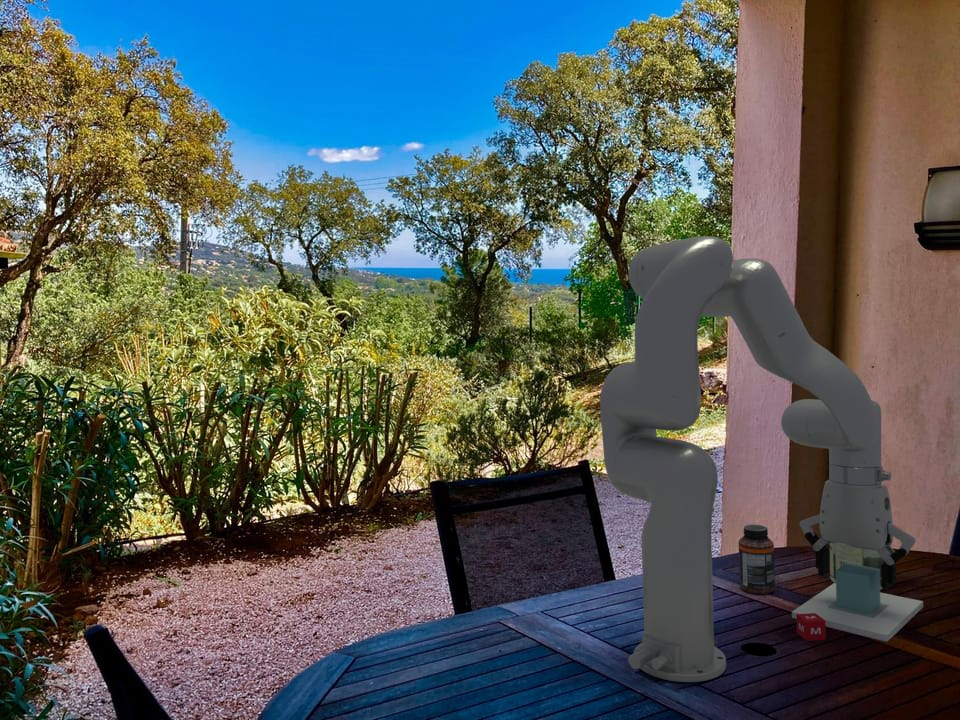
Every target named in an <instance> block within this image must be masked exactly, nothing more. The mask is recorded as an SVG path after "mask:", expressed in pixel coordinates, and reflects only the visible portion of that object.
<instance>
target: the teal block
mask: <svg viewBox="0 0 960 720" xmlns="http://www.w3.org/2000/svg"><path fill="white" fill-rule="evenodd" d="M880 593H881V590H880V569H877V568H872V567H867V566H861V565H856V564H851V563H846V564H845V565H843V566H842V567H840V568H839V569H837V570H836V603H837V607H840V608H844V609H849V610H853V611H857V612H862V613H866V614H871V613H872V612H873V611H874V610H875V609H877V608H878V607H879V606H880Z"/></svg>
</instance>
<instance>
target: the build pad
mask: <svg viewBox="0 0 960 720" xmlns="http://www.w3.org/2000/svg"><path fill="white" fill-rule="evenodd" d="M923 608H924V601H923V600H919V599H914V598H910V597H903V596H898V595H893V594H889V593H885V592H884V593H883V592H880V606H879V607H878V608H877V609H875V610H874V611H873V612H872V613H871V614H866V613H862V612H857V611H853V610H849V609H844V608H840V607H837V603H836V583H835V582H833V583H832V584H831V585H829V586H828V587H826V588H825V589H823V590H822V591H820V592H819V593H817V594H816V595H814V596H813V597H812V598H810V599H809V600H807V601H805V602H804V603H803V604H801V605H800V606H798V607H797V608H795V609H794V610H792V611H791V618H792V619H794V618H795V619H794V620H797V616H796V614H808V613H816V614H817V615H819V616H820V617H821V618H823V619H824V620H825V621H826V628H831V629H833V630H837V631H843V632H847V633H850V634H853V635H859V636H863V637H866V638H870V639H874V640H878V641H882V642H887V643H888V642H889V640H891V639H892V637H894V636H895V635H896V634H897V633H898V632H899V631H900V630H902V628H903V627H904V626H905V625H907V624H908V623H909V621H911V619H913V618H914V617H915V616H916V615H917V614H918V613H919V612H920V611H922V609H923Z"/></svg>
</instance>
